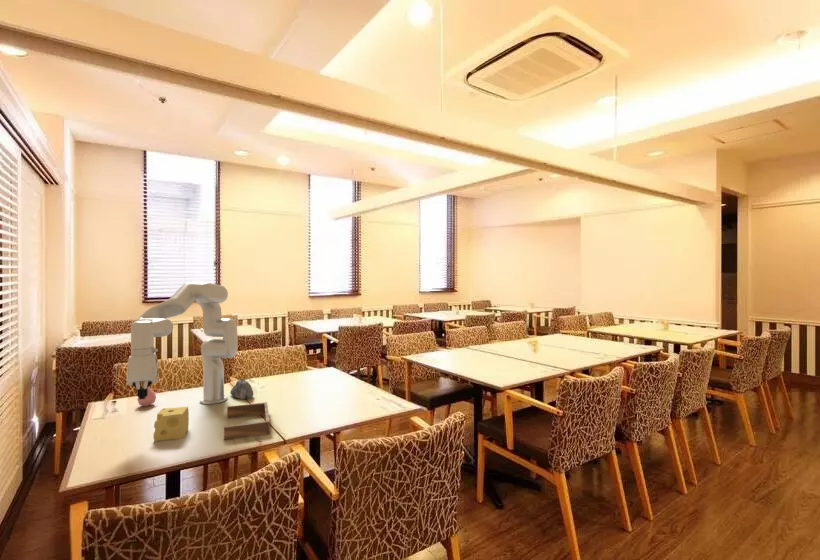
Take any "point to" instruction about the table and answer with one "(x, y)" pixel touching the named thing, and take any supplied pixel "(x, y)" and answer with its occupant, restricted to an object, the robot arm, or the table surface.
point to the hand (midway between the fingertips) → (142, 398)
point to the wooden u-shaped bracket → (250, 428)
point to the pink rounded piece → (148, 398)
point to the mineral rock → (242, 390)
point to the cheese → (171, 423)
